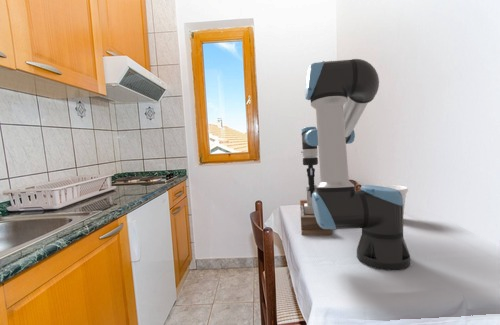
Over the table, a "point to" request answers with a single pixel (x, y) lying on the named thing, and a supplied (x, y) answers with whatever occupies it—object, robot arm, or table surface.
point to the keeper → (308, 206)
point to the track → (310, 223)
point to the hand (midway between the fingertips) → (312, 202)
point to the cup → (401, 189)
